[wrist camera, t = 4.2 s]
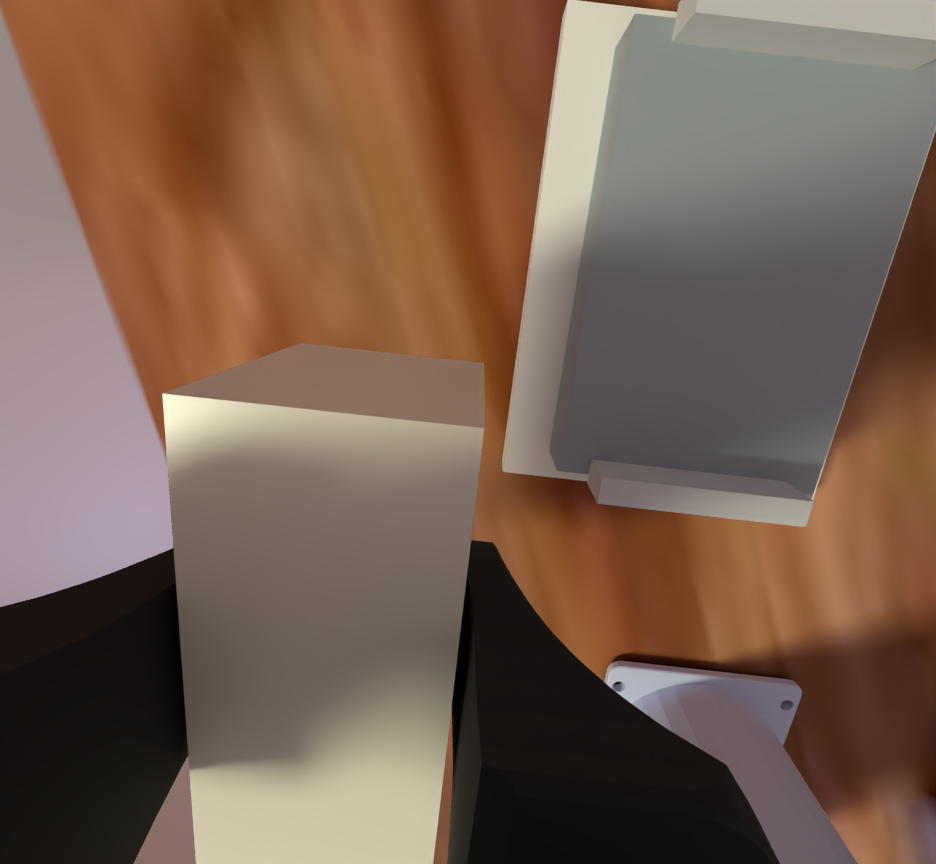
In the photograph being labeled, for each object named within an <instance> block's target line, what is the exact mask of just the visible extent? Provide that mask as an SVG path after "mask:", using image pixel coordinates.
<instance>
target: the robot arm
mask: <svg viewBox="0 0 936 864" xmlns="http://www.w3.org/2000/svg"><path fill="white" fill-rule="evenodd" d="M619 681H620V682H621V683H620V684H616V685H615V684H614V683H615V682H619ZM801 697H802V691H801V689H800V687H799V686H798V685H797V683H796V682H794V681H793V680H789V679H781V678H772V677H763V676H754V675H745V674H736V673H727V672H718V671H709V670H700V669H691V668H682V667H673V666H664V665H655V664H646V663H637V662H628V661H615V662H613V663H611V664H610V665H609V666H608V669H607V672H606V676H605V681H604V682H603V681H602V680H601V679H600V678H599V677H598V676H596V675H595V674H594V673H593V672H592V671H591V670H590V669H588V668H587V667H586V666H585V665H584V664H583V663H582V662H581V661H580V660H579V659H577V658H576V657H575V656H574V655H573V654H572V653H571V652H570V651H569V650H568V648H567V647H566V646H565V645H564V644H563V643H562V642H561V641H560V640H559V639H558V638H557V637H556V636H555V635H554V634H553V633H552V632H551V630H550V629H549V628H548V627H547V626H546V624H545V623H544V622H543V620H542V619H541V618H540V617H539V615H538V614H537V613H536V611H535V610H534V609H533V607H532V606H531V605H530V603H529V602H528V600H527V599H526V597H525V596H524V594H523V593H522V591H521V590H520V588H519V587H518V585H517V584H516V582H515V581H514V579H513V577H512V576H511V574H510V572H509V570H508V569H507V567H506V565H505V563H504V561H503V560H502V558H501V556H500V554H499V552H498V549H497V548H496V546H495V545H494V544H493V543H491V542H482V541H473V540H471V545H470V554H469V562H468V571H467V579H466V588H465V596H464V605H463V613H462V621H461V630H460V638H459V647H458V655H457V664H456V672H455V681H454V689H453V698H452V737H453V787H452V805H451V819H450V833H449V847H448V861H447V864H857V862H856V861H855V859H854V857H853V856H852V854H851V853H850V851H849V850H848V848H847V846H846V845H845V843H844V842H843V840H842V838H841V837H840V835H839V834H838V832H837V831H836V829H835V827H834V826H833V824H832V823H831V821H830V820H829V818H828V816H827V815H826V813H825V812H824V810H823V809H822V807H821V805H820V804H819V802H818V801H817V799H816V798H815V796H814V794H813V793H812V791H811V790H810V788H809V787H808V785H807V783H806V782H805V780H804V779H803V777H802V776H801V774H800V772H799V771H798V769H797V768H796V766H795V765H794V763H793V761H792V760H791V758H790V757H789V755H788V754H787V752H786V750H785V749H784V747H783V745H784V742H785V740H786V737H787V734H788V732H789V729H790V726H791V723H792V721H793V718H794V715H795V713H796V710H797V707H798V705H799V702H800V699H801ZM785 700H786V701H785ZM783 701H785V702H783ZM782 702H783V703H782ZM187 757H188V743H187V729H186V715H185V701H184V687H183V673H182V659H181V645H180V631H179V617H178V603H177V589H176V575H175V561H174V548H172V549H170V550H168V551H166V552H163V553H161V554H158V555H156V556H153V557H151V558H148V559H146V560H144V561H141V562H138V563H136V564H133V565H131V566H129V567H126V568H123V569H121V570H118V571H116V572H113V573H111V574H108V575H105V576H102V577H100V578H97V579H94V580H91V581H88V582H85V583H82V584H80V585H76V586H73V587H70V588H67V589H63V590H60V591H57V592H54V593H51V594H48V595H44V596H41V597H37V598H34V599H30V600H26V601H22V602H19V603H15V604H11V605H7V606H4V607H0V864H133V863H134V861H135V859H136V857H137V855H138V853H139V851H140V848H141V847H142V845H143V843H144V841H145V839H146V837H147V834H148V832H149V830H150V828H151V826H152V824H153V822H154V820H155V818H156V816H157V814H158V812H159V810H160V808H161V806H162V804H163V802H164V800H165V799H166V797H167V794H168V793H169V790H170V789H171V787H172V785H173V783H174V781H175V779H176V777H177V775H178V773H179V771H180V769H181V767H182V765H183V763H184V762H185V760H186V758H187Z"/></svg>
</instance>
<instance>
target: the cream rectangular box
mask: <svg viewBox="0 0 936 864" xmlns="http://www.w3.org/2000/svg"><path fill="white" fill-rule="evenodd" d="M163 408H164V422H165V436H166V450H167V464H168V477H169V491H170V504H171V519H172V534H173V546H174V561H175V575H176V589H177V603H178V617H179V631H180V645H181V659H182V673H183V687H184V701H185V715H186V729H187V743H188V756H189V769H190V770H189V771H190V785H191V799H192V812H193V826H194V840H195V853H196V864H433V859H434V850H435V842H436V833H437V825H438V816H439V808H440V799H441V791H442V782H443V774H444V765H445V757H446V749H447V740H448V732H449V723H450V715H451V706H452V698H453V689H454V681H455V672H456V664H457V655H458V647H459V638H460V630H461V621H462V613H463V605H464V596H465V588H466V579H467V571H468V562H469V554H470V545H471V537H472V528H473V520H474V511H475V503H476V494H477V486H478V477H479V469H480V461H481V452H482V444H483V435H484V363H479V362H470V361H460V360H451V359H442V358H433V357H423V356H414V355H405V354H396V353H387V352H377V351H368V350H359V349H350V348H340V347H331V346H322V345H313V344H304V343H300V344H297V345H294V346H291V347H289V348H286V349H283V350H281V351H278V352H275V353H272V354H270V355H267V356H264V357H261V358H259V359H256V360H253V361H250V362H248V363H245V364H242V365H239V366H237V367H234V368H231V369H228V370H226V371H223V372H220V373H217V374H215V375H212V376H209V377H207V378H204V379H201V380H198V381H196V382H193V383H190V384H187V385H185V386H182V387H179V388H176V389H174V390H171V391H168V392H165V393H163Z"/></svg>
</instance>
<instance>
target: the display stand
mask: <svg viewBox="0 0 936 864" xmlns="http://www.w3.org/2000/svg"><path fill="white" fill-rule="evenodd" d="M935 132H936V0H681V1H680V2H679V5H678V10H677V12H672V11H663V10H655V9H646V8H638V7H629V6H620V5H612V4H603V3H594V2H586V1H577V0H568V1H567V4H566V8H565V11H564V14H563V18H562V25H561V33H560V40H559V47H558V55H557V62H556V69H555V77H554V84H553V91H552V98H551V106H550V113H549V120H548V128H547V135H546V142H545V150H544V157H543V164H542V172H541V179H540V186H539V194H538V201H537V208H536V216H535V223H534V230H533V238H532V245H531V252H530V260H529V267H528V274H527V282H526V289H525V296H524V304H523V311H522V318H521V325H520V333H519V340H518V347H517V355H516V362H515V369H514V377H513V384H512V391H511V399H510V406H509V413H508V421H507V428H506V435H505V443H504V450H503V457H502V469H503V472H508V473H517V474H526V475H535V476H544V477H553V478H561V479H570V480H579V481H588V482H587V484H588V486H589V488H590V490H591V492H592V494H593V496H594V498H595V500H596V502H597V504H605V505H614V506H623V507H632V508H640V509H649V510H658V511H667V512H676V513H685V514H694V515H703V516H712V517H720V518H729V519H738V520H747V521H756V522H765V523H774V524H783V525H792V526H800V527H806V525H807V522H808V519H809V516H810V513H811V510H812V507H813V504H814V501H813V498H814V495H815V492H816V489H817V486H818V483H819V480H820V477H821V474H822V471H823V468H824V465H825V462H826V459H827V456H828V453H829V450H830V447H831V444H832V441H833V438H834V435H835V432H836V429H837V426H838V423H839V420H840V417H841V414H842V411H843V408H844V405H845V402H846V399H847V396H848V393H849V390H850V387H851V384H852V381H853V378H854V375H855V372H856V369H857V366H858V363H859V360H860V357H861V354H862V351H863V348H864V345H865V342H866V339H867V336H868V333H869V330H870V327H871V324H872V321H873V318H874V315H875V312H876V309H877V306H878V303H879V300H880V297H881V294H882V291H883V288H884V285H885V282H886V279H887V276H888V273H889V270H890V267H891V264H892V261H893V258H894V255H895V252H896V249H897V246H898V243H899V240H900V237H901V234H902V231H903V228H904V225H905V222H906V219H907V216H908V213H909V210H910V207H911V204H912V201H913V198H914V195H915V192H916V189H917V186H918V183H919V180H920V177H921V174H922V171H923V168H924V165H925V162H926V159H927V156H928V153H929V150H930V147H931V144H932V141H933V138H934V135H935Z"/></svg>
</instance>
